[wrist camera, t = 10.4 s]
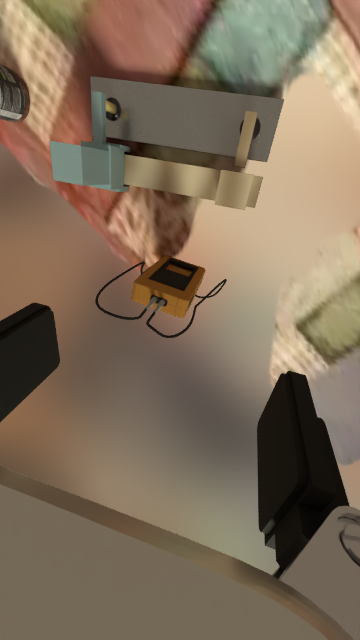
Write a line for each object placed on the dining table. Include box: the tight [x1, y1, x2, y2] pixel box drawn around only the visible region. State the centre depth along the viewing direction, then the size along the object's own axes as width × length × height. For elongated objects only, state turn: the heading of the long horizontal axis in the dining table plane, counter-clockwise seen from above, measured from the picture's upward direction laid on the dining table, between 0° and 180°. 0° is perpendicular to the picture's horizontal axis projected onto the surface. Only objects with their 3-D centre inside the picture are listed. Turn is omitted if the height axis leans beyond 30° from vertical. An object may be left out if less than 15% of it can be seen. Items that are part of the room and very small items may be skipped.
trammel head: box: [50, 91, 130, 192], centre depth 31 cm, size 4×10×12 cm, turn 173°
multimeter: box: [96, 255, 227, 338], centre depth 36 cm, size 15×10×20 cm
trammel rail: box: [124, 111, 263, 210], centre depth 32 cm, size 24×9×7 cm, turn 83°
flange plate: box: [90, 76, 284, 162], centre depth 32 cm, size 24×6×1 cm, turn 83°
